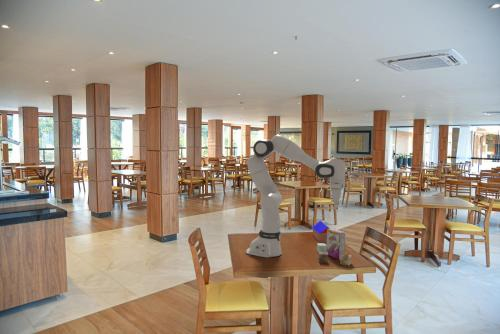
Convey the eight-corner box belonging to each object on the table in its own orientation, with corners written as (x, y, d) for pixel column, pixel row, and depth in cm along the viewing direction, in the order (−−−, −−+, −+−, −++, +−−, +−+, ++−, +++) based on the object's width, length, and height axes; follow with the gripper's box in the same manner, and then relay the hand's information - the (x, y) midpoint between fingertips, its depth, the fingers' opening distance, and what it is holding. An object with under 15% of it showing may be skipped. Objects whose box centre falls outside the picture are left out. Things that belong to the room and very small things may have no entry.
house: (319, 243, 241) (319, 226, 240) (312, 235, 261) (312, 220, 260) (335, 243, 242) (336, 226, 241) (327, 235, 262) (327, 220, 261)
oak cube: (340, 264, 197) (340, 255, 197) (342, 262, 202) (343, 253, 201) (348, 266, 195) (348, 257, 194) (351, 263, 199) (351, 255, 199)
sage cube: (319, 253, 218) (319, 245, 217) (316, 250, 223) (316, 243, 222) (326, 253, 218) (327, 245, 218) (324, 250, 223) (324, 243, 223)
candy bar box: (325, 254, 214) (326, 229, 213) (331, 253, 217) (332, 228, 216) (338, 260, 205) (339, 233, 204) (344, 258, 207) (345, 232, 206)
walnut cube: (318, 262, 200) (319, 254, 200) (318, 259, 205) (318, 251, 205) (327, 263, 199) (327, 254, 199) (327, 260, 204) (327, 252, 204)
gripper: (333, 182, 219) (332, 203, 220) (330, 185, 200) (329, 209, 200) (343, 182, 217) (343, 204, 218) (341, 186, 198) (340, 209, 198)
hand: (336, 206), depth 209 cm, fingers open, 8 cm apart
